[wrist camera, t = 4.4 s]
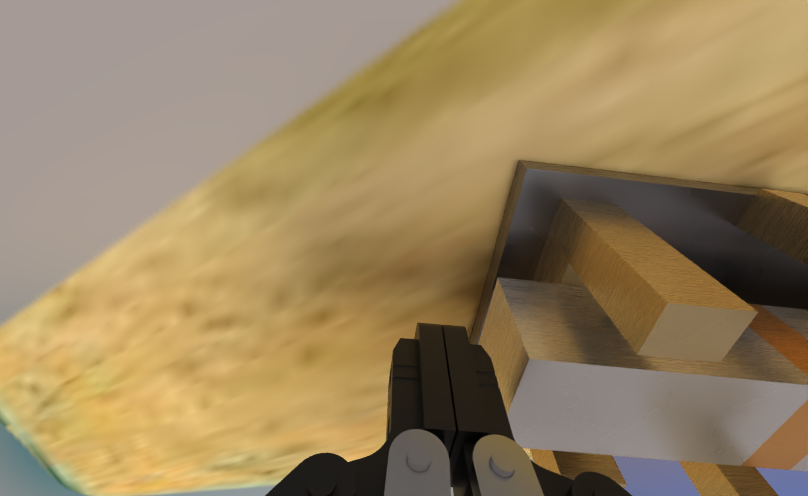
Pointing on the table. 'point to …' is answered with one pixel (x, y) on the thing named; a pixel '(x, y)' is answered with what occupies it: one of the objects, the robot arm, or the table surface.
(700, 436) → the rod
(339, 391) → the table surface
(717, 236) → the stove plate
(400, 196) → the table surface
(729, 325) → the tan bracket pieces
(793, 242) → the bridge
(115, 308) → the table surface
